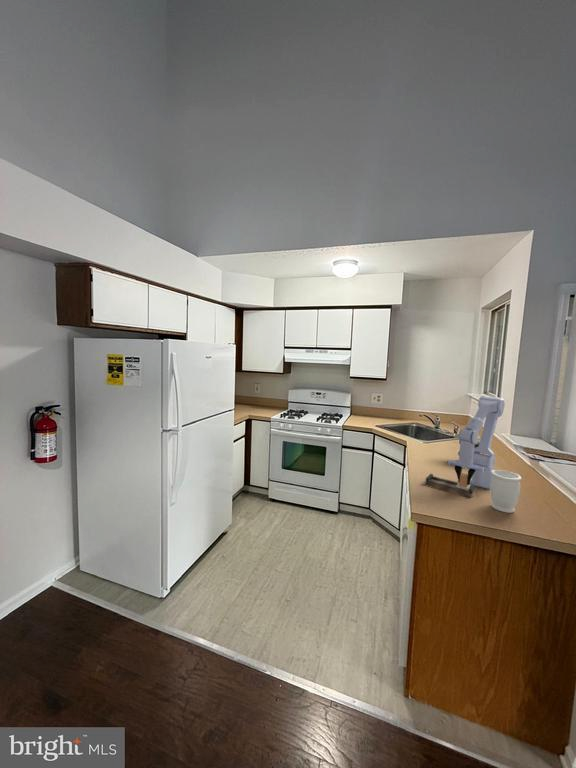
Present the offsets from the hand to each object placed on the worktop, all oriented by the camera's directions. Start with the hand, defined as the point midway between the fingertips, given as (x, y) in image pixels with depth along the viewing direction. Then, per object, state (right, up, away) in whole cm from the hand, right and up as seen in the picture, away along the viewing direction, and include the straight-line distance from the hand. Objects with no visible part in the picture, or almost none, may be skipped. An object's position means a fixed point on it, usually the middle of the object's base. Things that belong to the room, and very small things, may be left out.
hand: (463, 483), depth 148 cm
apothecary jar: (+24, -1, +39) cm, 46 cm away
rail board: (-5, -4, +4) cm, 7 cm away
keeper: (0, -3, 0) cm, 3 cm away
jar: (+8, -6, -14) cm, 18 cm away
